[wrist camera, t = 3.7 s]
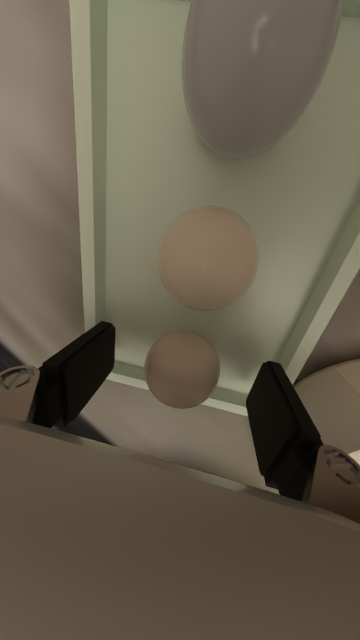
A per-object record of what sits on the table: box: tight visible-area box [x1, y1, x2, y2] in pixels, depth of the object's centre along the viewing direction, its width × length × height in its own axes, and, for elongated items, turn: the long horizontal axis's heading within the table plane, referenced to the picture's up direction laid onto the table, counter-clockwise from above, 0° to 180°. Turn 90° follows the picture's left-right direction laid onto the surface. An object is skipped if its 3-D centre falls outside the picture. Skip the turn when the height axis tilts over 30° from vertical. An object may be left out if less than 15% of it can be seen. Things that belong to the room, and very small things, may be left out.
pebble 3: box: [181, 0, 343, 160], centre depth 5 cm, size 4×4×4 cm
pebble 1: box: [157, 206, 259, 311], centre depth 8 cm, size 4×4×4 cm
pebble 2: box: [144, 330, 220, 409], centre depth 10 cm, size 4×4×4 cm
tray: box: [69, 0, 360, 416], centre depth 9 cm, size 17×12×2 cm
